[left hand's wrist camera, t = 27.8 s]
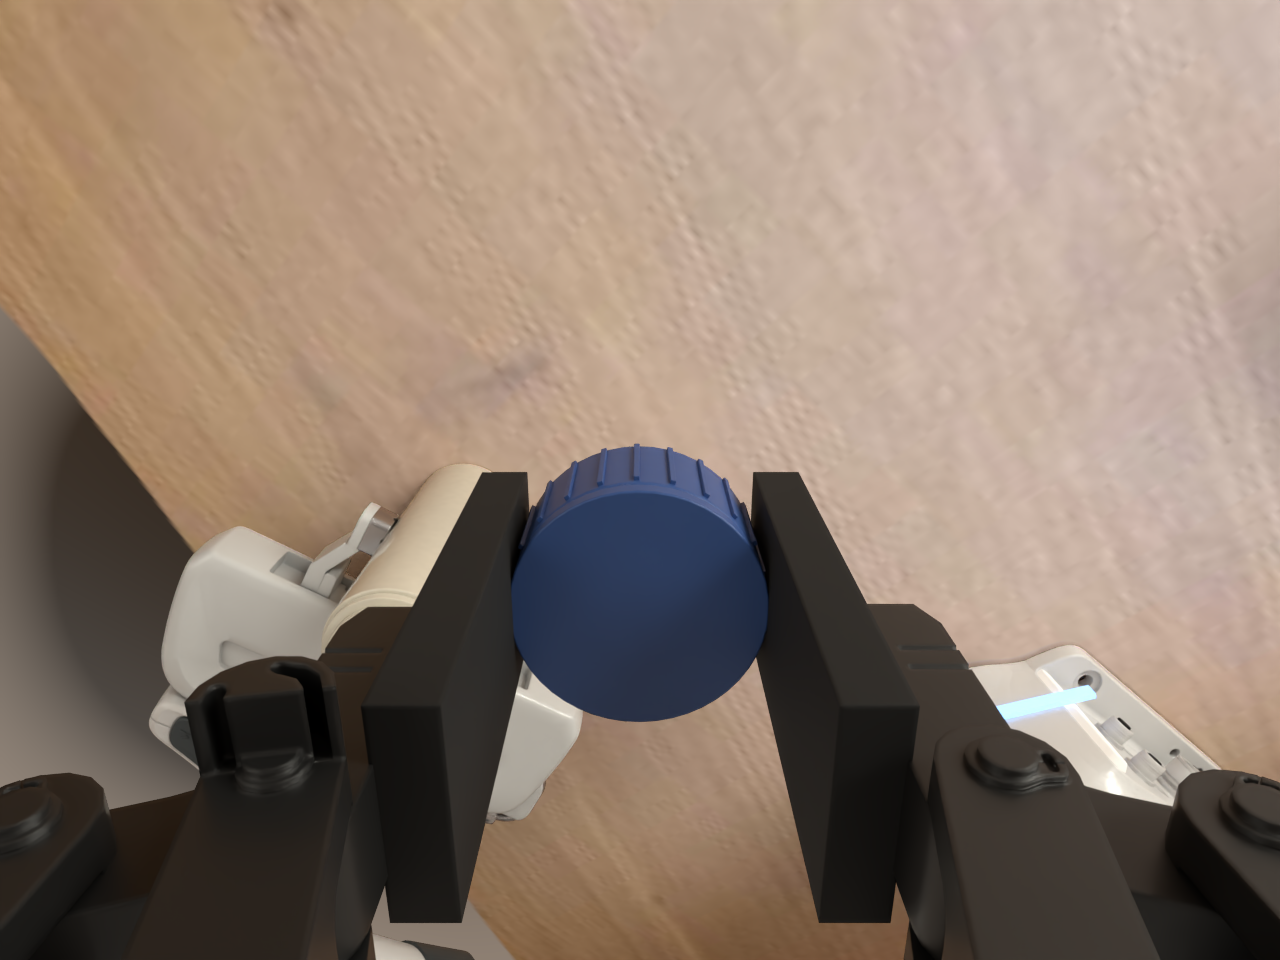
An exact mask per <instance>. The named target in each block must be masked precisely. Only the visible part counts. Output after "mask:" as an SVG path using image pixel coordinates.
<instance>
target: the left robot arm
mask: <svg viewBox="0 0 1280 960" xmlns="http://www.w3.org/2000/svg"><path fill="white" fill-rule="evenodd" d="M528 516H529V498H528V478H527V472H482V474H481V475H480V477H479V479H478V481H477V483H476V485H475V487H474V489H473V491H472V493H471V495H470V497H469V498H468V500H467V502H466V504H465V506H464V508H463V510H462V512H461V514H460V516H459V518H458V520H457V522H456V523H455V525H454V527H453V529H452V531H451V533H450V535H449V537H448V539H447V541H446V543H445V545H444V547H443V548H442V550H441V552H440V554H439V556H438V558H437V560H436V562H435V564H434V566H433V568H432V570H431V572H430V573H429V575H428V577H427V579H426V581H425V583H424V585H423V587H422V589H421V591H420V593H419V595H418V597H417V598H416V600H415V602H414V604H413V606H412V607H367V608H365V609H364V610H362V611H361V612H359V613H358V614H357V615H355V616H354V617H352V618H351V619H349V620H348V621H346V622H345V623H344V624H342V625H341V626H340V627H339V628H338V630H337V631H336V633H335V634H334V636H333V637H332V639H331V640H330V642H329V643H328V645H327V646H326V648H325V653H322V654H321V656H320V657H319V659H318V660H314V659H310V658H307V657H303V656H274V657H269V658H263V659H258V660H253V661H248V662H245V663H242V664H240V665H237V666H235V667H232V668H229V669H227V670H224V671H221V672H219V673H218V674H216V675H215V676H213V677H212V678H210V679H208V680H207V681H205V682H204V683H202V684H200V685H199V686H198V687H197V688H196V689H195V690H194V691H193V693H192V694H191V695H190V696H189V697H188V698H187V699H186V701H185V702H184V704H185V709H186V713H187V718H188V722H189V727H190V731H191V736H192V740H193V745H194V749H195V754H196V758H197V763H198V767H199V772H200V779H199V781H198V783H197V785H196V788H195V790H193V791H189V792H185V793H182V794H178V795H175V796H171V797H167V798H162V799H157V800H153V801H148V802H144V803H139V804H134V805H129V806H125V807H120V808H115V809H111V810H109V807H108V804H107V800H106V796H105V793H104V789H103V788H102V787H101V786H100V785H99V784H98V783H97V782H96V781H95V780H94V779H93V778H91V777H87V776H82V775H77V774H72V773H61V774H50V775H40V776H36V777H32V778H28V779H24V780H22V781H17V782H14V783H11V784H8V785H5V786H3V787H1V788H0V960H376V955H375V948H374V940H373V933H372V927H371V923H372V920H373V917H374V914H375V912H376V909H377V906H378V903H379V900H380V898H381V895H382V892H383V889H384V886H385V888H386V896H387V903H388V911H389V918H390V923H462V919H463V914H464V910H465V906H466V902H467V898H468V893H469V889H470V885H471V881H472V876H473V872H474V868H475V864H476V859H477V855H478V851H479V847H480V843H481V838H482V834H483V830H484V826H485V821H486V817H487V813H488V809H489V805H490V800H491V796H492V792H493V788H494V783H495V779H496V775H497V771H498V766H499V762H500V758H501V754H502V750H503V745H504V741H505V737H506V733H507V728H508V724H509V720H510V716H511V712H512V707H513V703H514V699H515V695H516V690H517V686H518V682H519V678H520V673H521V669H522V665H523V661H524V660H523V658H522V657H521V655H520V653H519V650H518V648H517V646H516V644H515V641H514V630H513V613H512V596H511V580H512V577H513V574H514V570H515V567H516V564H517V561H518V557H519V554H520V551H521V549H519V548H518V547H519V543H520V540H521V537H522V534H523V531H524V528H525V525H526V522H527V519H528ZM751 524H752V527H753V531H754V534H755V537H756V540H757V543H758V548H759V552H760V555H761V558H762V561H763V564H764V568H765V571H766V573H765V578H766V581H767V587H768V593H769V604H768V621H767V630H766V633H765V637H764V641H763V643H762V645H761V647H760V650H759V652H758V654H757V656H756V658H757V663H758V667H759V671H760V675H761V680H762V684H763V688H764V692H765V697H766V701H767V705H768V709H769V713H770V718H771V722H772V726H773V730H774V735H775V739H776V743H777V747H778V751H779V756H780V760H781V764H782V768H783V773H784V777H785V781H786V785H787V789H788V794H789V798H790V802H791V806H792V811H793V815H794V819H795V823H796V828H797V832H798V836H799V840H800V844H801V849H802V853H803V857H804V861H805V866H806V870H807V874H808V878H809V882H810V887H811V891H812V895H813V899H814V904H815V908H816V912H817V916H818V920H819V923H890V922H891V915H892V908H893V900H894V893H895V886H896V883H897V886H898V889H899V892H900V894H901V897H902V900H903V903H904V906H905V908H906V911H907V914H908V917H909V927H908V933H907V940H906V947H905V954H904V960H1280V783H1279V782H1277V781H1274V780H1271V779H1268V778H1265V777H1259V776H1258V775H1253V774H1249V773H1245V772H1239V771H1228V770H1217V769H1211V770H1206V771H1201V772H1196V773H1191V774H1190V775H1188V776H1187V777H1186V778H1185V779H1184V780H1183V781H1182V782H1181V783H1180V784H1179V785H1178V788H1177V792H1176V795H1175V799H1174V803H1173V806H1169V805H1164V804H1159V803H1155V802H1150V801H1145V800H1141V799H1136V798H1131V797H1126V796H1122V795H1117V794H1112V793H1109V792H1105V791H1101V790H1098V789H1094V788H1091V787H1087V786H1085V785H1084V784H1083V782H1082V779H1081V777H1080V775H1079V774H1078V772H1077V771H1076V770H1075V768H1074V767H1073V765H1072V764H1071V763H1070V761H1069V760H1068V759H1067V757H1065V756H1064V755H1063V754H1061V753H1060V752H1059V751H1057V750H1056V749H1054V748H1053V747H1052V746H1050V745H1049V744H1048V743H1046V742H1045V741H1042V740H1040V739H1038V738H1036V737H1033V736H1031V735H1029V734H1026V733H1024V732H1022V731H1020V730H1015V729H1011V728H1010V727H1009V725H1008V724H1007V722H1006V721H1005V719H1004V717H1003V716H1002V714H1001V713H1000V711H999V710H998V708H997V707H996V705H995V704H994V702H993V701H992V699H991V698H990V696H989V695H988V693H987V692H986V690H985V689H984V687H983V686H982V684H981V683H980V681H979V680H978V678H977V677H976V675H975V674H974V672H973V671H972V669H969V668H968V663H967V662H966V660H965V659H964V657H963V656H962V654H961V653H960V651H959V650H956V645H955V643H954V642H953V640H952V639H951V637H950V636H949V634H948V633H947V631H946V630H945V628H944V627H943V625H942V624H941V623H940V622H939V621H937V620H936V619H934V618H933V617H931V616H930V615H928V614H927V613H925V612H924V611H923V610H921V609H920V608H918V607H917V606H915V605H914V604H867V603H866V601H865V599H864V597H863V595H862V593H861V591H860V590H859V588H858V586H857V584H856V582H855V580H854V578H853V576H852V574H851V572H850V570H849V568H848V567H847V565H846V563H845V561H844V559H843V557H842V555H841V553H840V551H839V549H838V547H837V545H836V543H835V542H834V540H833V538H832V536H831V534H830V532H829V530H828V528H827V526H826V524H825V522H824V520H823V519H822V517H821V515H820V513H819V511H818V509H817V507H816V505H815V503H814V501H813V499H812V497H811V495H810V494H809V492H808V490H807V488H806V486H805V484H804V482H803V480H802V478H801V476H800V474H799V472H753V489H752V510H751Z"/></svg>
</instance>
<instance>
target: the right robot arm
mask: <svg viewBox="0 0 1280 960" xmlns="http://www.w3.org/2000/svg"><path fill="white" fill-rule="evenodd" d="M398 518H399V515H397V514H395V513H393V512H391V511H389V510H387V509H385V508H383V507H381V506H379V505H377V504H375V503H373V502H371V503H370V504H369V505H368V506H367V507H366V509H365V510H364V511H363V513H362V515H361V516H360V518H359V520H358V522H357V524H356V526H355V528H354V530H353V531H351V532H349V533H348V534H346V535H344V536H343V537H341V538H339V539H337V540H336V541H334V542H332V543H331V544H329V545H327V546H326V547H325V548H324V549H323V550H322V551H321V553H320V554H319V555H318V556H317V557H316V558H315V559H313V558H311V557H308V556H306V555H304V554H302V553H300V552H298V551H296V550H294V549H291V548H289V547H287V546H285V545H283V544H281V543H279V542H276V541H274V540H272V539H270V538H268V537H266V536H264V535H261V534H259V533H257V532H255V531H253V530H251V529H249V528H246V527H243V526H237V527H234V528H231V529H228V530H226V531H223V532H221V533H219V534H217V535H215V536H213V537H212V538H211V539H209V540H208V541H207V542H206V543H204V544H203V545H202V546H201V547H200V548H199V549H198V550H197V551H196V552H195V553H194V554H193V556H192V557H191V558H190V559H189V561H188V563H187V565H186V566H185V569H184V571H183V573H182V576H181V578H180V581H179V584H178V586H177V589H176V592H175V595H174V598H173V602H172V605H171V609H170V612H169V616H168V620H167V624H166V629H165V634H164V638H163V644H162V652H161V660H162V667H163V671H164V674H165V676H166V678H167V680H168V682H169V683H170V686H169V687H168V688H167V690H166V691H165V692H164V694H163V695H162V697H161V699H160V700H159V702H158V703H157V705H156V706H155V708H154V710H153V712H152V714H151V716H150V720H149V727H150V730H151V731H152V733H153V734H154V735H155V736H156V737H157V738H158V739H159V740H160V741H162V742H163V743H164V744H165V745H167V746H168V747H170V748H171V749H172V750H174V751H175V752H176V753H178V754H179V755H180V756H182V757H183V758H184V759H186V760H187V761H188V762H189V763H191V764H192V765H193V766H194V767H196V768H197V769H198V770H199V767H198V763H197V758H196V754H195V749H194V745H193V740H192V736H191V731H190V727H189V722H188V718H187V713H186V709H185V704H184V702H185V701H186V699H187V698H188V697H189V696H190V695H191V694H192V693H193V691H194V690H195V689H196V688H197V687H198V686H199V685H200V684H202V683H204V682H205V681H207V680H208V679H210V678H212V677H213V676H215V675H216V674H218V673H219V672H221V671H224V670H227V669H229V668H232V667H235V666H237V665H240V664H242V663H245V662H248V661H253V660H258V659H263V658H269V657H274V656H303V657H307V658H310V659H314V660H318V659H319V657H320V656H321V645H322V642H321V640H322V633H323V629H324V626H325V623H326V621H327V619H328V617H329V616H330V614H331V613H332V611H333V610H334V609H335V607H336V606H337V604H338V603H339V602H340V600H341V599H342V597H343V596H344V595H345V593H346V592H347V590H348V589H349V588H350V586H351V585H352V583H353V582H354V581H355V579H356V578H353V577H351V576H349V575H347V574H345V573H346V570H347V568H348V566H349V564H350V562H351V560H350V558H349V557H351V556H352V555H354V554H355V553H357V552H359V551H362V552H365V553H367V554H369V555H371V556H372V555H373V554H374V552H375V551H376V550H377V548H378V547H379V545H380V544H381V543H382V541H383V540H384V538H385V537H386V536H387V534H388V533H389V531H390V530H391V529H392V527H393V526H394V524H395V523H396V522H397V520H398ZM969 669H972V671H973V672H974V674H975V675H976V677H977V678H978V680H979V681H980V683H981V684H982V686H983V687H984V689H985V690H986V692H987V693H988V695H989V696H990V698H991V699H992V701H993V702H994V704H995V705H996V707H997V708H998V710H999V711H1000V713H1001V714H1002V716H1003V717H1004V719H1005V721H1006V722H1007V724H1008V725H1009V727H1010V728H1011V729H1015V730H1020V731H1022V732H1024V733H1026V734H1029V735H1031V736H1033V737H1036V738H1038V739H1040V740H1042V741H1045V742H1046V743H1048V744H1049V745H1050V746H1052V747H1053V748H1054V749H1056V750H1057V751H1059V752H1060V753H1061V754H1063V755H1064V756H1065V757H1067V759H1068V760H1069V761H1070V763H1071V764H1072V765H1073V767H1074V768H1075V770H1076V771H1077V772H1078V774H1079V775H1080V777H1081V779H1082V782H1083V784H1084V785H1085V786H1087V787H1091V788H1094V789H1098V790H1101V791H1105V792H1109V793H1112V794H1117V795H1122V796H1126V797H1131V798H1136V799H1141V800H1145V801H1150V802H1155V803H1159V804H1164V805H1169V806H1173V803H1174V799H1175V795H1176V792H1177V788H1178V785H1179V784H1180V783H1181V782H1182V781H1183V780H1184V779H1185V778H1186V777H1187V776H1188V775H1190V774H1191V773H1196V772H1201V771H1206V770H1211V769H1217V770H1222V769H1221V768H1220V767H1219V766H1218V765H1217V764H1216V763H1214V762H1213V761H1212V760H1211V759H1210V758H1209V757H1208V756H1206V755H1205V754H1204V753H1203V752H1202V751H1201V750H1200V749H1198V748H1197V747H1196V746H1195V745H1194V744H1193V743H1191V742H1190V741H1189V740H1188V739H1187V738H1186V737H1184V736H1183V735H1182V734H1181V733H1180V732H1179V731H1177V730H1176V729H1175V728H1174V727H1173V726H1172V725H1171V724H1169V723H1168V722H1167V721H1166V720H1165V719H1164V718H1162V717H1161V716H1160V715H1159V714H1158V713H1157V712H1155V711H1154V710H1153V709H1152V708H1151V707H1150V706H1148V705H1147V704H1146V703H1145V702H1144V701H1143V700H1142V699H1140V698H1139V697H1138V696H1137V695H1136V694H1135V693H1133V692H1132V691H1131V690H1130V689H1129V688H1128V687H1126V686H1125V685H1124V684H1123V683H1122V682H1121V681H1120V680H1118V679H1117V678H1116V677H1115V676H1114V675H1113V674H1111V673H1110V672H1109V671H1108V670H1107V669H1106V668H1104V667H1103V666H1102V665H1101V664H1100V663H1099V662H1097V661H1096V660H1095V659H1094V658H1093V657H1092V656H1091V655H1089V654H1088V653H1087V652H1086V651H1085V650H1083V649H1082V648H1080V647H1078V646H1075V645H1064V646H1060V647H1056V648H1053V649H1050V650H1048V651H1045V652H1043V653H1040V654H1038V655H1036V656H1034V657H1031V658H1029V659H1027V660H1025V661H1020V662H1015V663H1007V664H993V665H983V666H976V667H971V668H969ZM1084 675H1086V677H1085V678H1084V679H1083V680H1080V681H1078V680H1079V678H1080V677H1082V676H1084ZM582 717H583V710H580V709H578V708H576V707H574V706H572V705H570V704H569V703H567V702H565V701H563V700H562V699H560V698H559V697H558V696H556V695H555V694H553V693H552V692H551V691H550V690H549V689H547V688H546V687H545V686H544V685H543V684H542V683H541V682H540V681H539V680H538V679H537V678H536V676H535V675H534V674H533V673H532V672H531V671H530V669H529V668H528V666H527V665H526V663H525V661H523V665H522V669H521V673H520V678H519V682H518V686H517V690H516V695H515V699H514V703H513V707H512V712H511V716H510V720H509V724H508V728H507V733H506V737H505V741H504V745H503V750H502V754H501V758H500V762H499V766H498V771H497V775H496V779H495V783H494V788H493V792H492V796H491V800H490V805H489V809H488V813H487V817H486V821H485V823H487V824H493V823H494V821H495V820H499V821H514V820H522V819H524V818H525V817H526V816H527V815H528V814H529V813H530V812H531V810H532V809H533V808H534V806H535V804H536V803H537V801H538V800H539V798H540V796H541V795H542V793H543V792H544V789H545V785H546V779H547V778H548V777H549V776H550V775H551V773H552V772H553V771H554V770H555V769H556V767H557V766H558V765H559V764H560V762H561V761H562V760H563V758H564V757H565V756H566V754H567V753H568V752H569V750H570V749H571V748H572V746H573V744H574V743H575V741H576V740H577V738H578V735H579V732H580V729H581V724H582ZM373 940H374V948H375V955H376V960H474V958H473V957H472V955H471V954H470V953H468V952H466V951H463V950H457V949H451V948H446V947H440V946H435V945H430V944H424V943H419V942H414V941H406V940H405V941H397V940H394V939H391V938H387V937H384V936H380V935H377V934H373Z"/></svg>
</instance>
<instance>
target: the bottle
mask: <svg viewBox="0 0 1280 960" xmlns="http://www.w3.org/2000/svg"><path fill="white" fill-rule="evenodd" d="M482 472H491V471H489V470H487V469H485V468H483V467H480V466H477V465H472V464H454V465H449V466H446V467H443V468H441V469H439V470H438V471H436V472H434V473H433V474H432V475H431V476H430V477H429V478H428V479H427V480H426V481H425V482H424V484H423V485H422V487H421V488H420V489H419V491H418V492H417V494H416V495H415V496H414V498H413V499H412V501H411V502H410V503H409V505H408V506H407V508H406V509H405V510H404V512H403V513H402V515H401V516H400V517H399V519H398V520H397V522H396V523H395V524H394V526H393V527H392V529H391V530H390V531H389V533H388V534H387V536H386V537H385V538H384V540H383V541H382V543H381V544H380V545H379V547H378V548H377V550H376V551H375V552H374V554H373V555H372V557H371V558H370V560H369V561H368V562H367V564H366V565H365V567H364V568H363V569H362V571H361V572H360V574H359V575H358V576H357V578H356V579H355V581H354V582H353V583H352V585H351V586H350V588H349V589H348V590H347V592H346V593H345V595H344V596H343V597H342V599H341V600H340V602H339V603H338V604H337V606H336V607H335V609H334V610H333V611H332V613H331V614H330V616H329V617H328V619H327V621H326V623H325V626H324V629H323V633H322V640H321V642H322V645H321V654H322V653H325V648H326V646H327V645H328V643H329V642H330V640H331V639H332V637H333V636H334V634H335V633H336V631H337V630H338V628H339V627H340V626H341V625H342V624H344V623H345V622H346V621H348V620H349V619H351V618H352V617H354V616H355V615H357V614H358V613H359V612H361V611H362V610H364V609H365V608H367V607H412V606H413V604H414V602H415V600H416V598H417V597H418V595H419V593H420V591H421V589H422V587H423V585H424V583H425V581H426V579H427V577H428V575H429V573H430V572H431V570H432V568H433V566H434V564H435V562H436V560H437V558H438V556H439V554H440V552H441V550H442V548H443V547H444V545H445V543H446V541H447V539H448V537H449V535H450V533H451V531H452V529H453V527H454V525H455V523H456V522H457V520H458V518H459V516H460V514H461V512H462V510H463V508H464V506H465V504H466V502H467V500H468V498H469V497H470V495H471V493H472V491H473V489H474V487H475V485H476V483H477V481H478V479H479V477H480V475H481V474H482Z"/></svg>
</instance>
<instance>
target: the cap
mask: <svg viewBox="0 0 1280 960" xmlns="http://www.w3.org/2000/svg"><path fill="white" fill-rule="evenodd" d="M518 548H519V549H521V551H520V554H519V557H518V561H517V564H516V567H515V570H514V574H513V577H512V580H511V596H512V613H513V630H514V641H515V644H516V646H517V648H518V650H519V653H520V655H521V657H522V658H523V660H524V661H525V663H526V665H527V666H528V668H529V669H530V671H531V672H532V673H533V674H534V675H535V676H536V678H537V679H538V680H539V681H540V682H541V683H542V684H543V685H544V686H545V687H546V688H547V689H549V690H550V691H551V692H552V693H553V694H555V695H556V696H558V697H559V698H560V699H562V700H563V701H565V702H567V703H569V704H570V705H572V706H574V707H576V708H578V709H580V710H583V711H585V712H588V713H590V714H593V715H597V716H600V717H604V718H607V719H613V720H620V721H631V722H647V721H659V720H664V719H670V718H674V717H678V716H681V715H684V714H688V713H690V712H693V711H695V710H697V709H700V708H702V707H704V706H706V705H707V704H709V703H711V702H713V701H714V700H716V699H717V698H719V697H720V696H721V695H723V694H724V693H726V692H727V691H728V690H729V689H730V688H731V687H732V686H734V685H735V684H736V683H737V682H738V681H739V680H740V679H741V677H742V676H743V675H744V674H745V672H746V671H747V670H748V669H749V667H750V666H751V664H752V663H753V661H754V659H755V658H756V656H757V654H758V652H759V650H760V647H761V645H762V643H763V641H764V637H765V633H766V630H767V621H768V604H769V593H768V587H767V581H766V578H765V573H766V571H765V568H764V564H763V561H762V558H761V555H760V552H759V548H758V543H757V540H756V537H755V534H754V531H753V527H752V524H751V521H750V518H749V515H748V511H747V508H746V505H745V503H744V502H743V503H741V504H740V502H739V500H738V498H737V497H736V496H735V494H734V493H733V491H732V490H731V489H730V486H729V483H728V480H727V479H726V478H724V479H721V478H720V477H719V476H718V475H717V474H715V473H714V472H713V471H712V470H710V469H709V468H708V467H706V466H704V464H703V461H702V460H700V459H698V460H697V461H696V460H694V459H692V458H690V457H687V456H685V455H683V454H680V453H677V452H673V448H670V447H668V448H667V450H666V449H660V448H655V447H640V445H639V444H634V447H623V448H617V449H612V450H607V449H606V448H605V449H601V453H598V454H595V455H592V456H590V457H588V458H586V459H584V460H582V461H580V462H578V463H577V462H576V461H574V462H572V464H571V467H570V468H569V469H567V470H566V471H565V472H564V473H563V474H561V475H560V476H559V477H558V478H557V479H556V480H555V481H554V482H552V481H551V480H550V481H549V482H548V483H547V487H546V490H545V492H544V494H543V495H542V497H541V498H540V500H539V502H538V503H537V505H536V507H535V506H533V505H532V507H531V509H530V513H529V516H528V519H527V522H526V525H525V528H524V531H523V534H522V537H521V540H520V543H519V547H518Z"/></svg>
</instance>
